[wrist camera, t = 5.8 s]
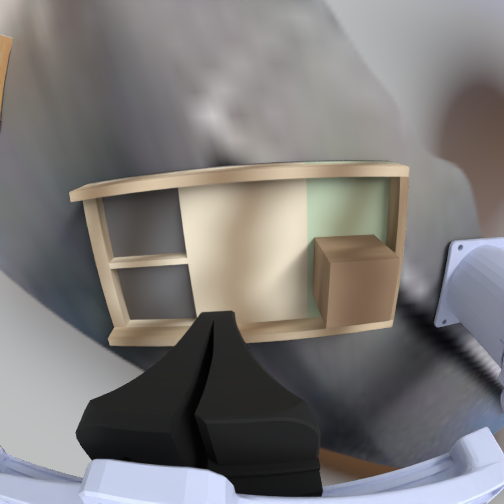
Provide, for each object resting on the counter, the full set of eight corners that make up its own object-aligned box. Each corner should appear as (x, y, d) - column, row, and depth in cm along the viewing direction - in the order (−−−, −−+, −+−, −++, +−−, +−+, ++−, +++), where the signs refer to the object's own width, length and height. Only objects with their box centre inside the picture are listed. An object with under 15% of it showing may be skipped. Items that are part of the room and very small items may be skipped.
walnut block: (373, 234, 20) (400, 258, 16) (368, 289, 21) (390, 320, 17) (314, 237, 19) (330, 263, 16) (312, 294, 21) (326, 328, 17)
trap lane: (387, 160, 19) (409, 166, 16) (377, 304, 23) (391, 326, 20) (90, 183, 19) (69, 192, 16) (122, 322, 23) (110, 345, 20)
